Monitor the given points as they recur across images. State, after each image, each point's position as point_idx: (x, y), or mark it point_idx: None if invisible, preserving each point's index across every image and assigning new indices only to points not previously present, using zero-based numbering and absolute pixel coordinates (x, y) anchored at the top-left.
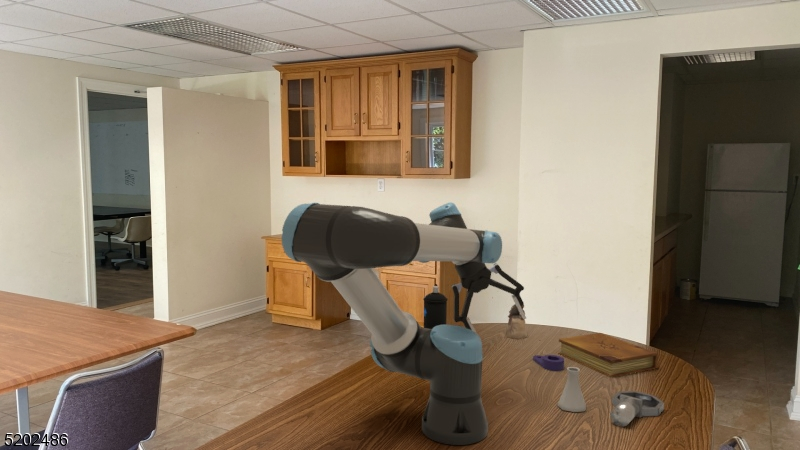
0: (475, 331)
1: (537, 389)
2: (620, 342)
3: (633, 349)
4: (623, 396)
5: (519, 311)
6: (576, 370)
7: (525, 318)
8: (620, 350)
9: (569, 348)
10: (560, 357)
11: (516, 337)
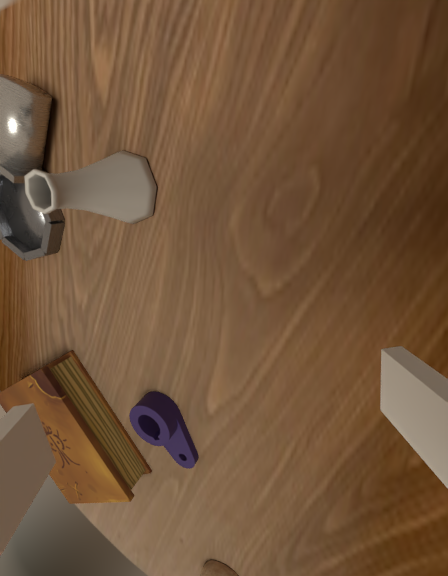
0: (444, 399)
1: (196, 291)
2: None
3: None
4: (10, 172)
5: (13, 487)
6: (41, 204)
7: (18, 406)
8: None
9: (120, 465)
10: (136, 427)
11: (223, 567)
